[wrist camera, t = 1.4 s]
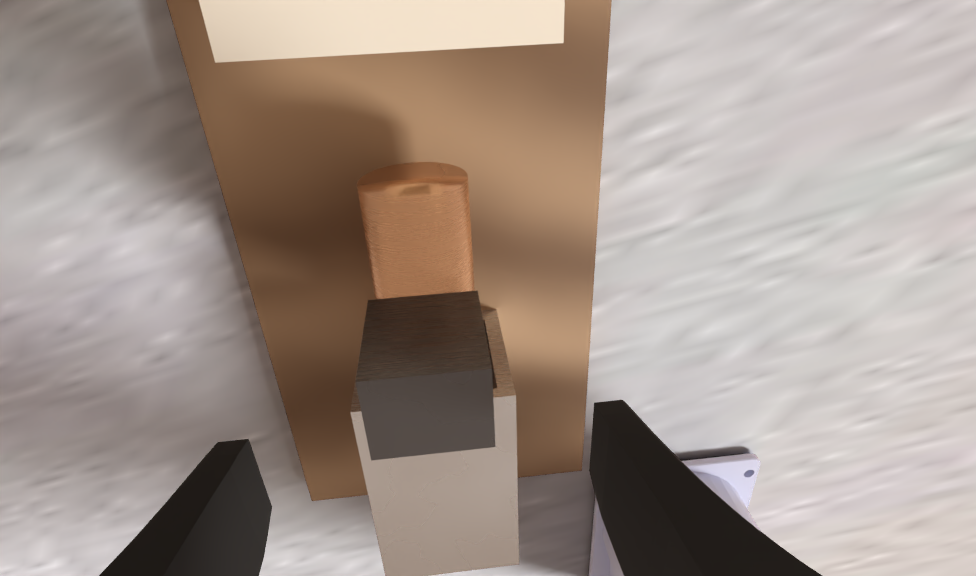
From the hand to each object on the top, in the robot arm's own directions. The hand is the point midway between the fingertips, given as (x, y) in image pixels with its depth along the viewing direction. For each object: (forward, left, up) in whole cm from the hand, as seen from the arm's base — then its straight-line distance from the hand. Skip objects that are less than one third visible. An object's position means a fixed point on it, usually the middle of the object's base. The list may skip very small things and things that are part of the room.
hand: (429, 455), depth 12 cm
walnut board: (0, 0, -10) cm, 10 cm away
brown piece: (-3, 0, -8) cm, 8 cm away
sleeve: (-6, 0, -10) cm, 11 cm away
